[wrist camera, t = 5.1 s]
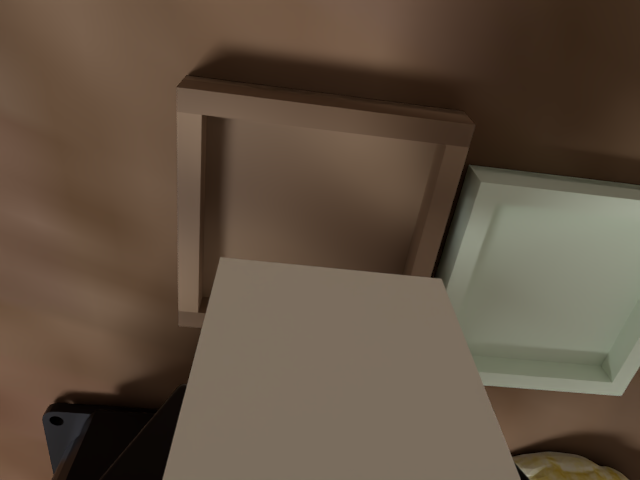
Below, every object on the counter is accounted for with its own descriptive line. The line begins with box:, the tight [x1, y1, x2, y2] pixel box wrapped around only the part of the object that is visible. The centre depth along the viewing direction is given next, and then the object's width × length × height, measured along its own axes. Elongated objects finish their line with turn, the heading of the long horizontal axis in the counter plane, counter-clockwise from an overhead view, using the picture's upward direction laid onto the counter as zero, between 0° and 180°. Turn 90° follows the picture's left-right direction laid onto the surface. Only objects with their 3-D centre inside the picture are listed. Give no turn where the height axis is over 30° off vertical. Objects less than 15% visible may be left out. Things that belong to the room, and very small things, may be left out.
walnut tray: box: [177, 75, 476, 328], centre depth 15 cm, size 7×7×1 cm
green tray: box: [435, 165, 640, 396], centre depth 16 cm, size 7×7×1 cm
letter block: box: [163, 257, 521, 480], centre depth 8 cm, size 4×4×5 cm
